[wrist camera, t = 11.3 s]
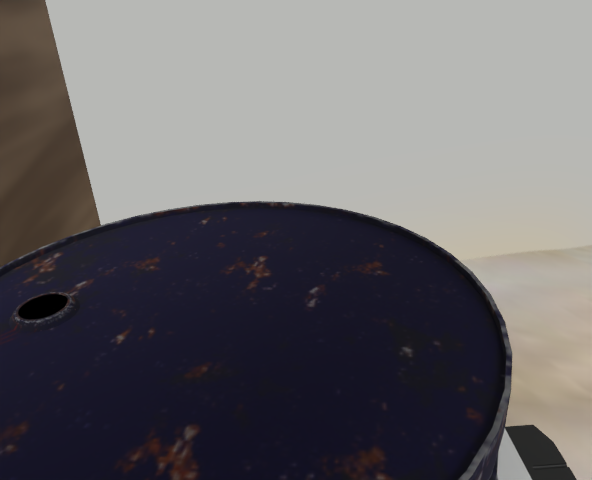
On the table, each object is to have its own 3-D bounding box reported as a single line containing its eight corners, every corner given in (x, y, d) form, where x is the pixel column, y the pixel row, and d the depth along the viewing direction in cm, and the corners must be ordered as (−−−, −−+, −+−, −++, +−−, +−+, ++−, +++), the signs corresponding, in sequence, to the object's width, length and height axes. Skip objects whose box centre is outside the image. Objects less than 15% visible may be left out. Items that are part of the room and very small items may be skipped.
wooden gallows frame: (410, 340, 33) (441, -262, 20) (490, 553, 21) (710, -669, 8) (103, 360, 33) (-64, -231, 20) (-3, 587, 21) (-627, -594, 8)
